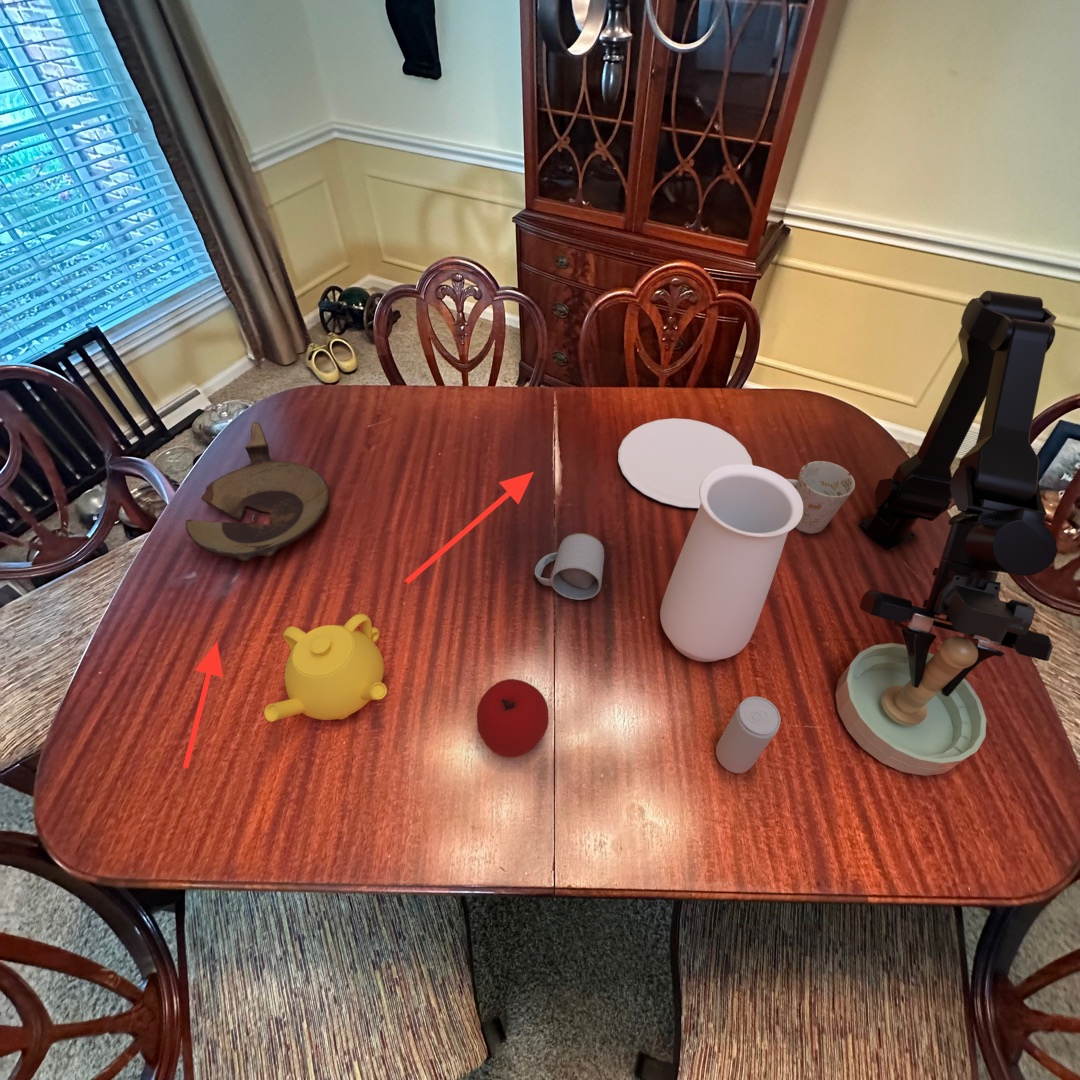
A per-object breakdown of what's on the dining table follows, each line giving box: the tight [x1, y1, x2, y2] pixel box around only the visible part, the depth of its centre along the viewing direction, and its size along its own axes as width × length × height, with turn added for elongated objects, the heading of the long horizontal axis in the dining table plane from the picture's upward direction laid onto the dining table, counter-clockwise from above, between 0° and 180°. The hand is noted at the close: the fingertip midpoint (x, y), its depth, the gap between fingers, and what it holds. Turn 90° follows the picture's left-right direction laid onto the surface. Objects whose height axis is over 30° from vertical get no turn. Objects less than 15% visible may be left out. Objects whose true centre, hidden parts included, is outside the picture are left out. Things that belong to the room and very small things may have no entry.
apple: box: [476, 678, 550, 758], centre depth 75 cm, size 9×9×10 cm
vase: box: [659, 464, 803, 663], centre depth 78 cm, size 13×13×28 cm
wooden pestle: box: [881, 635, 978, 726], centre depth 73 cm, size 5×5×16 cm
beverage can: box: [715, 695, 782, 774], centre depth 72 cm, size 5×5×12 cm
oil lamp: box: [185, 421, 330, 562], centre depth 102 cm, size 22×30×8 cm
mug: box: [785, 460, 856, 534], centre depth 100 cm, size 8×13×10 cm, turn 78°
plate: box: [617, 418, 754, 510], centre depth 112 cm, size 25×25×1 cm
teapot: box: [263, 613, 388, 722], centre depth 78 cm, size 14×14×11 cm
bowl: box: [835, 642, 987, 777], centre depth 78 cm, size 16×16×5 cm
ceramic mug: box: [534, 532, 605, 601], centre depth 92 cm, size 11×8×8 cm
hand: (929, 691), depth 72 cm, fingers closed on wooden pestle, 3 cm apart
